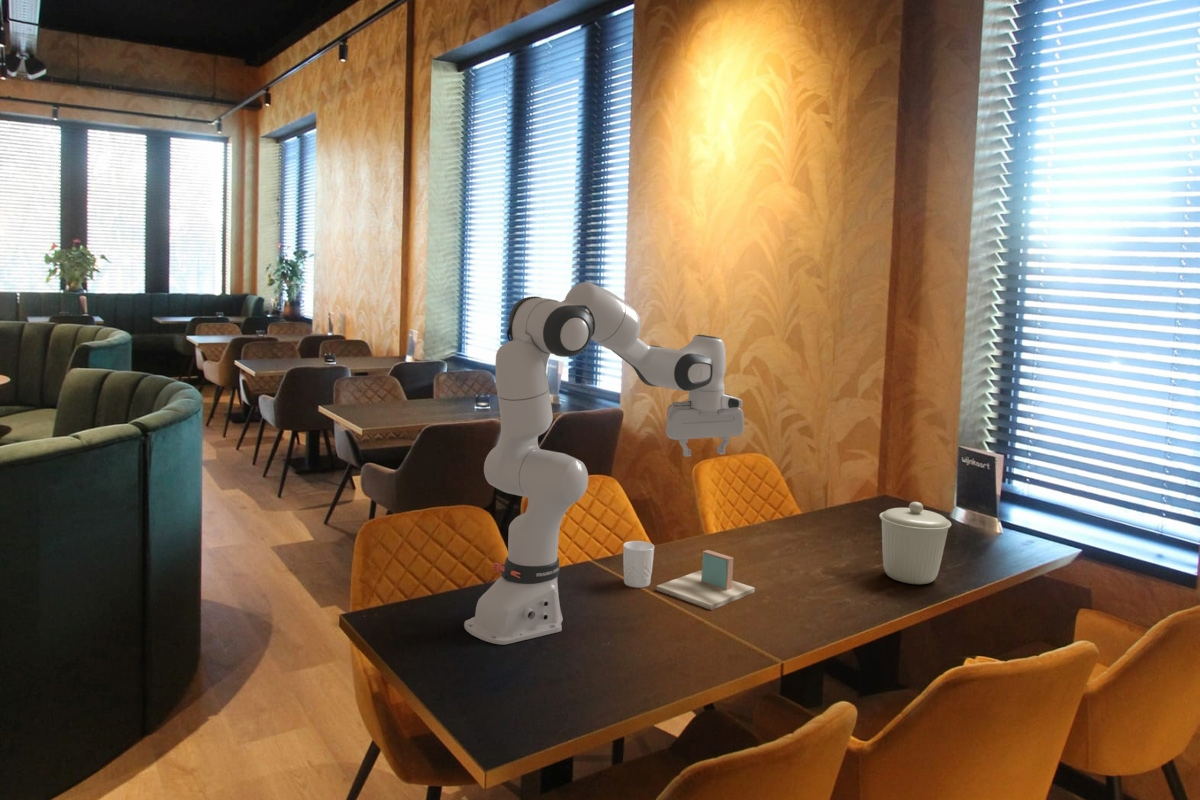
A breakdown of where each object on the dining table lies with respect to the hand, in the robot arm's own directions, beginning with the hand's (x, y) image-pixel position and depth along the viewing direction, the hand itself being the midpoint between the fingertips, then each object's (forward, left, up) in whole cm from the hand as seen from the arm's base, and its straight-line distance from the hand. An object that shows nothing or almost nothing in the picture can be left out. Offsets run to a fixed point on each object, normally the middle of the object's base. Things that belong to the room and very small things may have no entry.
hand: (704, 454), depth 213 cm
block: (+1, -5, -33) cm, 33 cm away
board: (-2, -4, -34) cm, 34 cm away
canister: (+49, -34, -34) cm, 69 cm away
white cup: (-11, +11, -34) cm, 37 cm away
